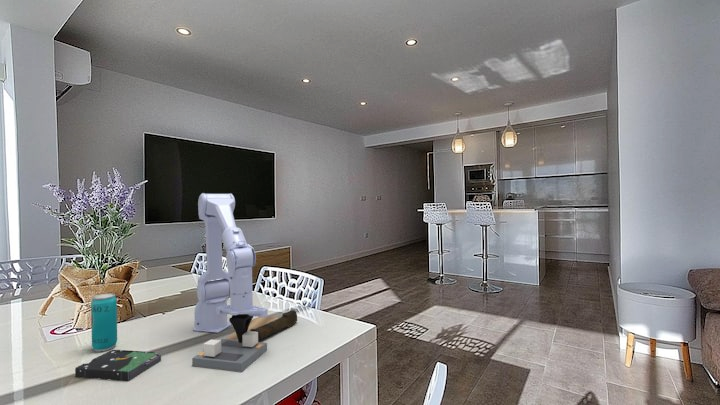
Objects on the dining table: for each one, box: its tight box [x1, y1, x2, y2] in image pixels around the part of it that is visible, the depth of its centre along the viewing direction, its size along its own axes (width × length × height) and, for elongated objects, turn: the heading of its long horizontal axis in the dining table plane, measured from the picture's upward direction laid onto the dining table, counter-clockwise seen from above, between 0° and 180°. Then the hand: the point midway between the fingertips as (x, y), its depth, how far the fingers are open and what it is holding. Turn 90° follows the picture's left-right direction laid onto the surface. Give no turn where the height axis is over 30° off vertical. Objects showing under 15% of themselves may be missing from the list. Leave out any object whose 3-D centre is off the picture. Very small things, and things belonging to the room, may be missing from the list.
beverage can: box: [90, 292, 118, 353], centre depth 95 cm, size 6×6×15 cm
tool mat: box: [224, 316, 280, 340], centre depth 107 cm, size 9×23×1 cm, turn 167°
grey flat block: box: [191, 338, 268, 373], centre depth 88 cm, size 14×12×2 cm
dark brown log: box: [250, 309, 298, 342], centre depth 105 cm, size 19×4×5 cm, turn 147°
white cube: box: [203, 339, 221, 357], centre depth 85 cm, size 3×3×3 cm
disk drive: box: [74, 349, 162, 382], centre depth 83 cm, size 10×3×15 cm
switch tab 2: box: [242, 331, 258, 347], centre depth 90 cm, size 3×3×3 cm
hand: (242, 341), depth 91 cm, fingers closed
